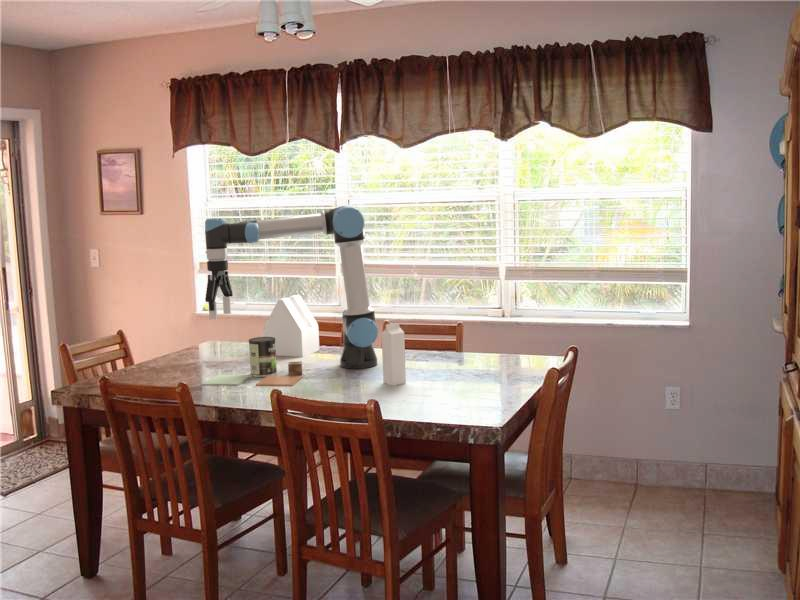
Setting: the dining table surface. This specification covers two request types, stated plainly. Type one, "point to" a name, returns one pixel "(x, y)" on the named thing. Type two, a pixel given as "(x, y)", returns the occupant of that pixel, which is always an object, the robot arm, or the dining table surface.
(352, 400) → the dining table surface
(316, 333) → the white house block
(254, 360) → the coffee can
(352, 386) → the dining table surface
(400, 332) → the milk
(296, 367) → the walnut block
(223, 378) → the pad green
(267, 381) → the pad terracotta
